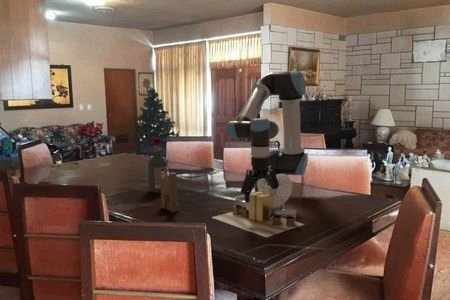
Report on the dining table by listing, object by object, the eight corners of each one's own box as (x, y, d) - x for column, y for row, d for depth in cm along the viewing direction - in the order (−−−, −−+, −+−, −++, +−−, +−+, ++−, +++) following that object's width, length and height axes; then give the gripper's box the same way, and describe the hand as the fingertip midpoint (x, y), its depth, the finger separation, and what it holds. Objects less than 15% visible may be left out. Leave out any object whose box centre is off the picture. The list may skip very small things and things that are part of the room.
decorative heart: (297, 210, 183) (297, 173, 181) (284, 215, 175) (284, 177, 173) (265, 203, 195) (265, 169, 193) (252, 208, 187) (251, 172, 185)
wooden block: (167, 206, 193) (166, 169, 190) (179, 211, 185) (178, 173, 182) (161, 207, 190) (159, 170, 188) (172, 212, 182) (171, 174, 180)
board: (248, 209, 186) (248, 207, 185) (304, 226, 160) (304, 224, 160) (211, 219, 172) (211, 217, 172) (266, 239, 146) (266, 237, 146)
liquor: (147, 191, 224) (144, 138, 220) (160, 188, 231) (158, 137, 227) (157, 193, 218) (155, 139, 214) (170, 190, 225) (168, 138, 221)
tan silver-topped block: (232, 213, 177) (232, 198, 176) (240, 211, 180) (240, 196, 179) (247, 218, 169) (246, 202, 169) (255, 215, 173) (255, 200, 172)
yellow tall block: (272, 220, 166) (272, 194, 164) (262, 223, 162) (262, 197, 160) (259, 216, 172) (259, 191, 170) (248, 219, 168) (248, 193, 167)
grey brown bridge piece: (269, 225, 160) (269, 208, 159) (270, 221, 165) (270, 205, 164) (295, 227, 157) (295, 210, 156) (296, 223, 162) (296, 206, 161)
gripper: (274, 152, 174) (274, 199, 177) (231, 158, 158) (232, 210, 161) (287, 153, 168) (287, 202, 171) (244, 161, 152) (244, 214, 155)
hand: (260, 206), depth 166 cm, fingers open, 13 cm apart
